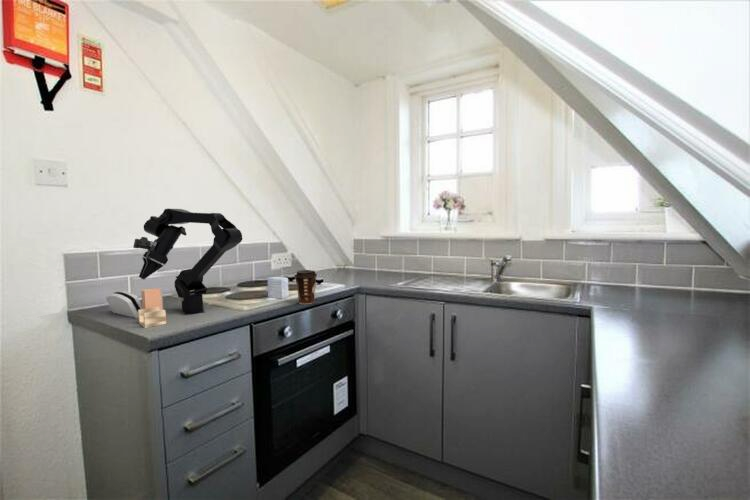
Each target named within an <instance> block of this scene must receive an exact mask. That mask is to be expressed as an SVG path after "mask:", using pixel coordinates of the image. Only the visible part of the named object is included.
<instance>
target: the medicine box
mask: <svg viewBox="0 0 750 500" xmlns="http://www.w3.org/2000/svg"><path fill="white" fill-rule="evenodd" d="M268 297H269V298H270V299H278V300H279V299H280V300H284V299H288V298H289V278H288V277H284V276H283V277H280V276H273V277H272V276H271V277H268V278H267V298H268ZM269 298H268V299H269Z"/></svg>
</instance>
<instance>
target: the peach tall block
mask: <svg viewBox="0 0 750 500" xmlns="http://www.w3.org/2000/svg"><path fill="white" fill-rule="evenodd" d="M140 292H141V304H142V307H143V309H147V308H153V307H159V309H160V310H164V299H163V298H164V297H163V294H162V289H161V288H158V287H155V288H149V289H148V288H147V289H141V291H140Z"/></svg>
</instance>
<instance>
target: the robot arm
mask: <svg viewBox="0 0 750 500" xmlns="http://www.w3.org/2000/svg"><path fill="white" fill-rule="evenodd" d="M190 223H191V224H192V223H194V224H209V226H210V230H211V233H212V235H213V236H214V237H213V241H212V242H213V243H212V245H211V246H210V248H208V250H207V251H206V253H204V254H203V256H202V257H201V258H200V259H199V260H198V261H197V262H196V263H195V264H194V265H193V267H192V268H190V269H189V268H188V269H182V270H181V271H180V272H179V274H178V275H177V276H175V278H176V279H175V280H174V288H175V292H176V294H177V297H178V298H180V299H181V300H180V305H181V312H182V313H183V314H184V315H192V314H193V315H194V314H198V313H200V314H201V313H205V310H204V301H203V300H204V299H203V295H204V294H206V293H207V290H208V288H207V287H206V286H205V284H204V283H203V282H204V276H205V275H207V273H208V272H209V271H210V269H211V268H212V267H213V266H214V265H215V264H216V262H218V261H219V260H220V258H221V257H222V256H223V255H224V254H225V253H226V252H227V251H229V250H232V249H234V248H235V247H236V246H238V245H239V244H240V243H242V241H243V233H242V231H241V230H240V229H239V228H237V226H236V225H235V224H234V223H232V222H231V221H230V220H228V219H227V218H226V216H224V214H222V213H219V212H210V213H209V212H191V211H189V210H186V209H183V208H165V209H163V212H162V213H161V214H160V215H158V216H156V215H154V216H153V215H151V216H150V218H149V219H148V220H146V221H145V223H144V224H143V230H144V232H145V233H147V234H149V235H152V236H155V237H157V238H156V239H154V240H149V239H148V237H146V236H141V237H140V238H134V241H133V249H143V250H147V251H145V252H144V253H143V255H142V257H141V258H142V261H143V265H142V268H141V270H140V272H139V275H138V278H140V279H141V280H146V279H147V278H149V277H150V276H151V275H153V274H154V273H155V272H157V271H158V270H160V269H161V268H163V267H164V266H165V265H166V264H167V263H168V262H169V259H168V255H169V254H170V251H171V250H173V248H174V246H175V244H176V243H177V241H178V240H179V239H180V237H181V235H183V236H187V232H186V228H185V227H184V226H181V225H184V224H190ZM176 225H180V226H176Z"/></svg>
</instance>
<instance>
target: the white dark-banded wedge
mask: <svg viewBox="0 0 750 500" xmlns="http://www.w3.org/2000/svg"><path fill="white" fill-rule="evenodd" d="M105 300H106V301H107V304H108V306H109V309H110V310H111V313H112V312H113V314H116V313H117V315H121V316H127V317H129V318H130V317H131V318H136V319H137V318H138V319H139V317H138V310H141V309H143V307H142V301H141V300H140V299H139V297H138V296H137V295H136V294H134V293H132V292H129V291H128V290H116V291H115V292H112V293H110V294H108V295H107V296H106V297H105Z"/></svg>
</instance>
